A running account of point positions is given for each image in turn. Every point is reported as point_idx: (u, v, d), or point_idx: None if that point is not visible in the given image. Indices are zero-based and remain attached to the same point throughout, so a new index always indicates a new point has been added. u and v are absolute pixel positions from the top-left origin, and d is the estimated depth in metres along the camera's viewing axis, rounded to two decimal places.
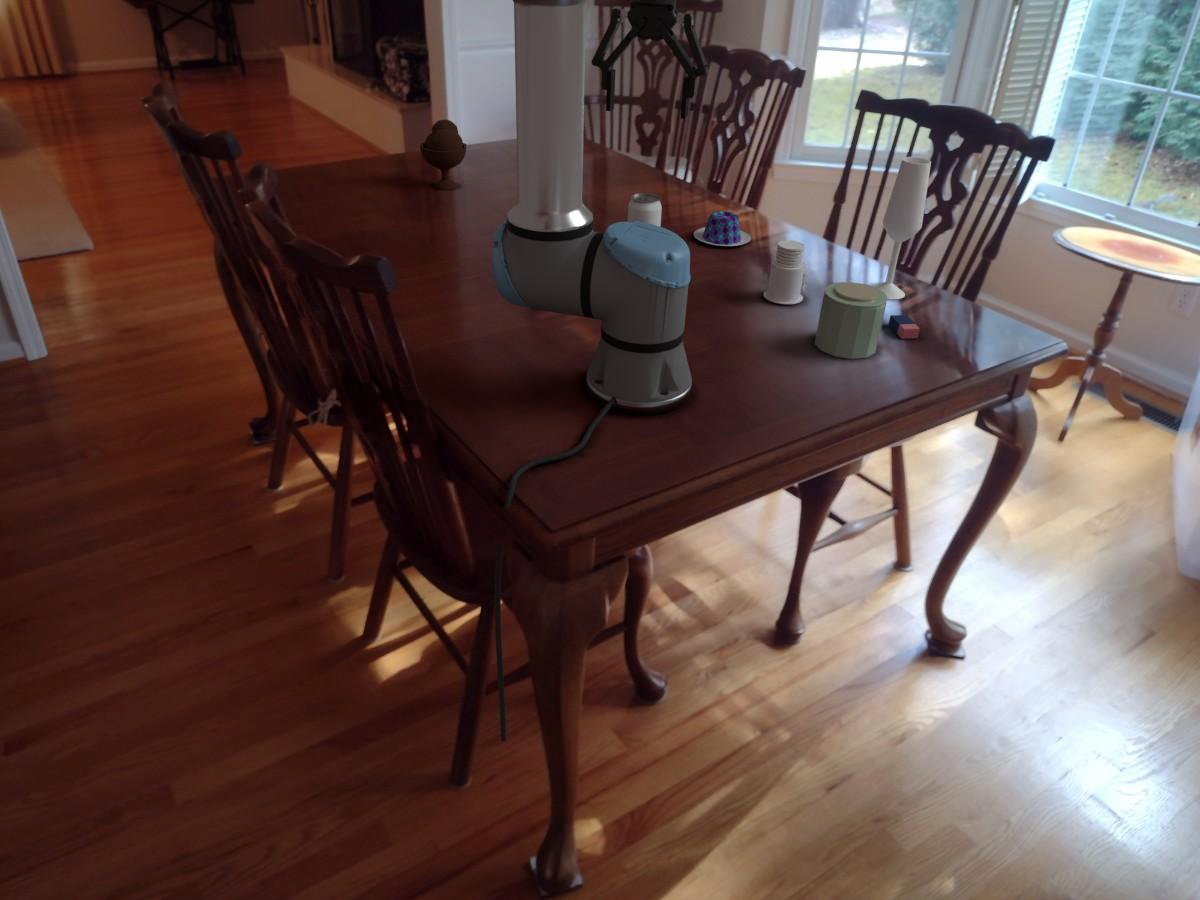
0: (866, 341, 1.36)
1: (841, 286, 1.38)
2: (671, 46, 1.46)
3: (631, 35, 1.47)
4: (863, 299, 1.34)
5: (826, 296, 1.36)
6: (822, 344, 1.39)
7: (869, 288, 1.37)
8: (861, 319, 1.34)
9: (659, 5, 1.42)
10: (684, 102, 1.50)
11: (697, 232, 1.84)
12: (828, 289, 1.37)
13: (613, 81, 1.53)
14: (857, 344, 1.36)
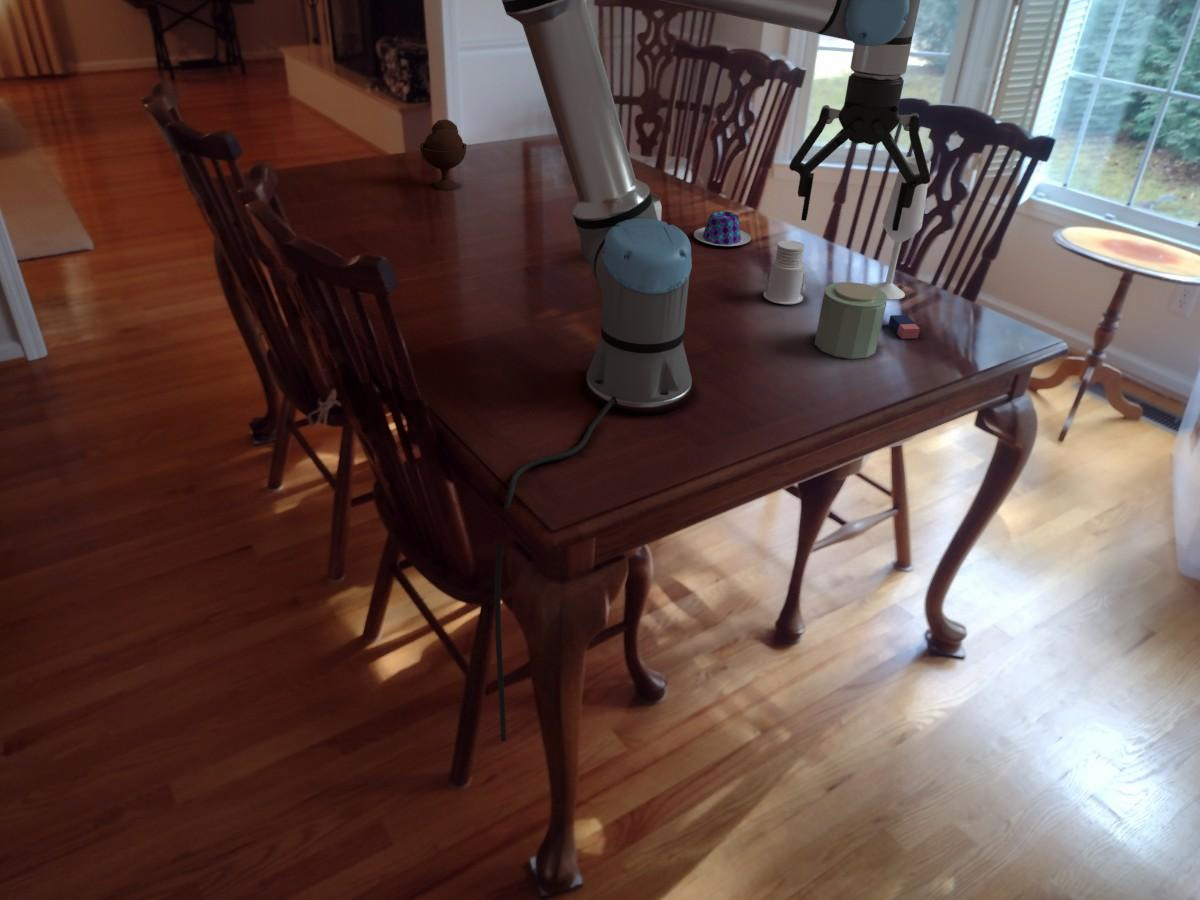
0: (866, 341, 1.36)
1: (841, 286, 1.38)
2: (890, 151, 1.25)
3: (843, 138, 1.26)
4: (863, 299, 1.34)
5: (826, 296, 1.36)
6: (822, 344, 1.39)
7: (869, 288, 1.37)
8: (861, 319, 1.34)
9: (884, 107, 1.21)
10: (899, 213, 1.29)
11: (697, 232, 1.84)
12: (828, 289, 1.37)
13: (811, 187, 1.32)
14: (857, 344, 1.36)
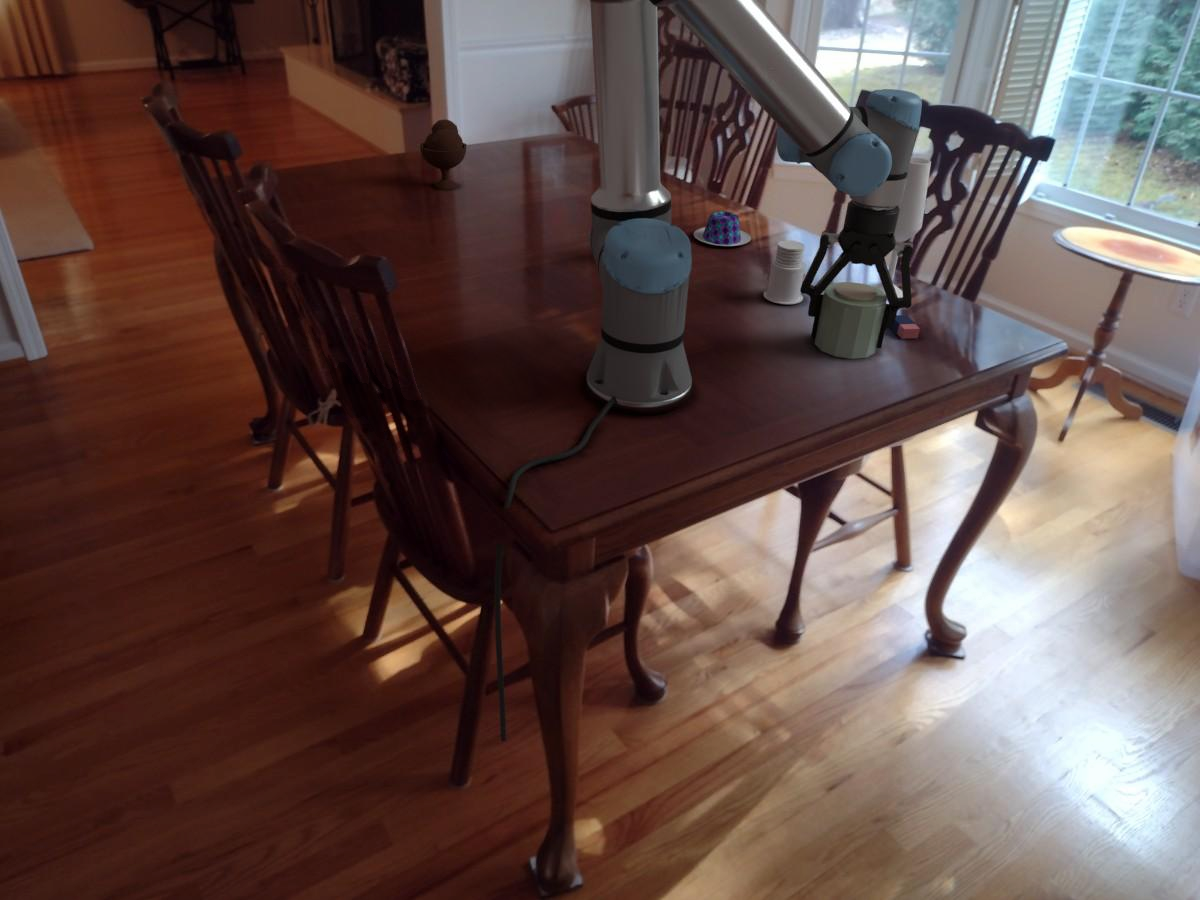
0: (866, 341, 1.36)
1: (841, 286, 1.38)
2: (881, 274, 1.33)
3: (844, 262, 1.33)
4: (863, 299, 1.34)
5: (826, 296, 1.36)
6: (822, 344, 1.39)
7: (869, 288, 1.37)
8: (861, 319, 1.34)
9: (881, 235, 1.28)
10: (882, 332, 1.37)
11: (697, 232, 1.84)
12: (828, 289, 1.37)
13: None
14: (857, 344, 1.36)
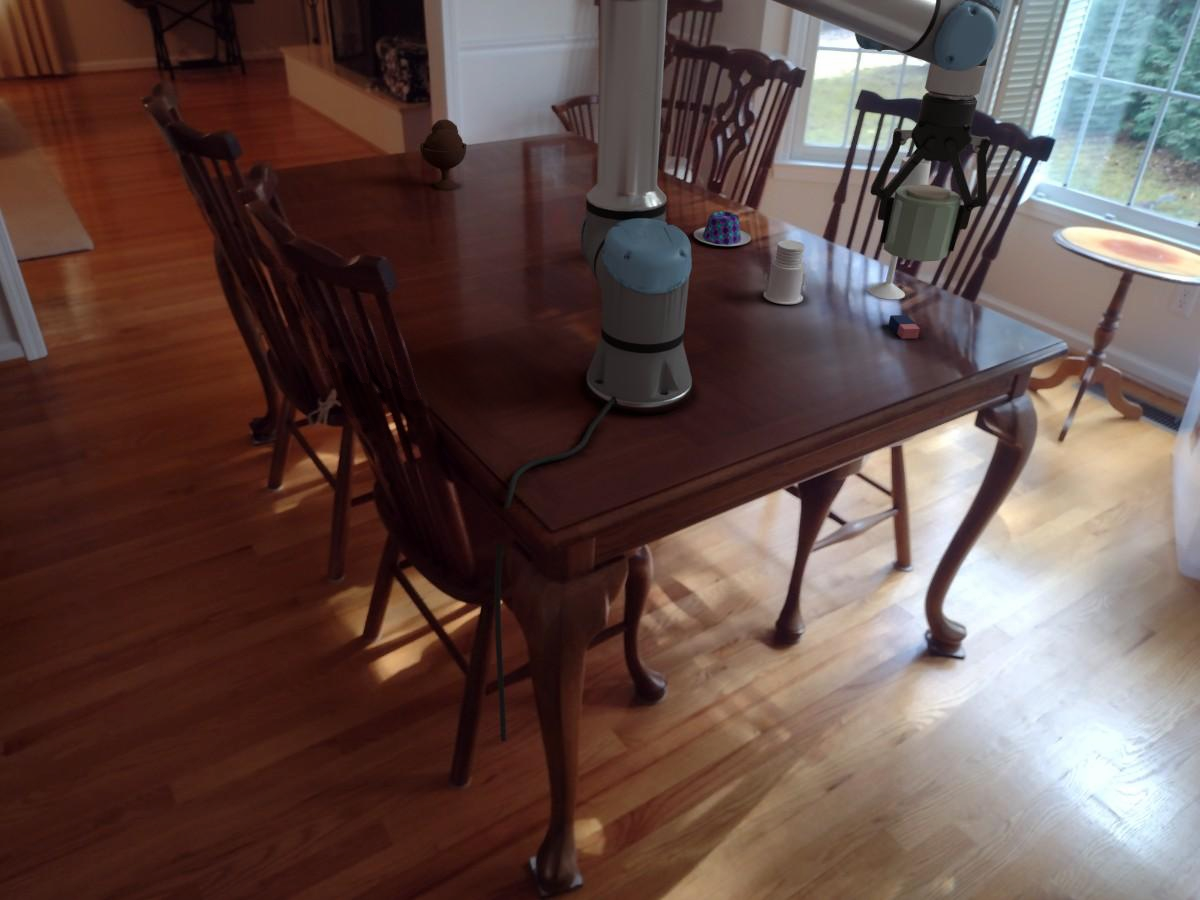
0: (939, 242, 1.33)
1: (912, 187, 1.34)
2: (956, 171, 1.29)
3: (918, 158, 1.29)
4: (937, 197, 1.30)
5: (897, 197, 1.33)
6: (893, 247, 1.35)
7: (941, 188, 1.34)
8: (935, 218, 1.30)
9: (958, 126, 1.24)
10: (955, 234, 1.34)
11: (697, 232, 1.84)
12: (899, 190, 1.34)
13: None
14: (930, 245, 1.32)
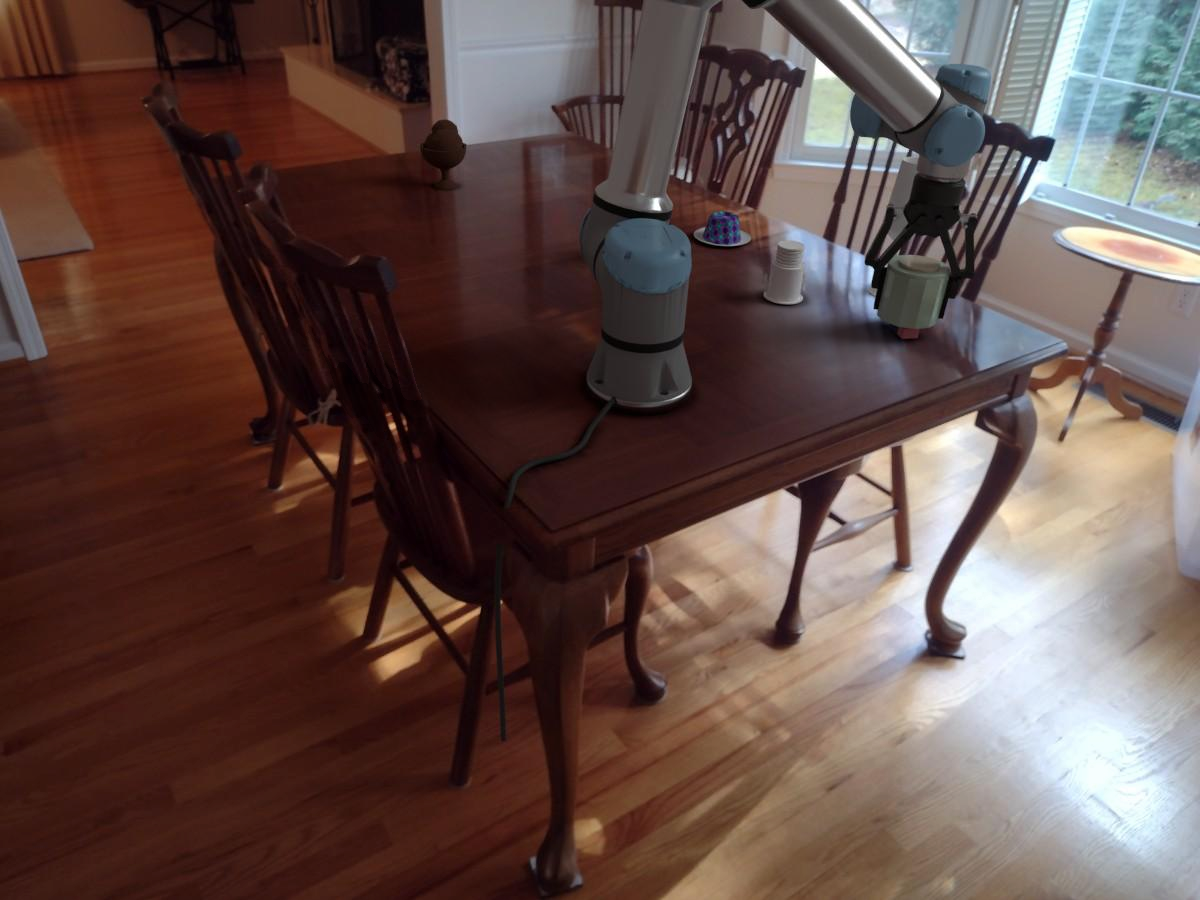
0: (930, 311, 1.40)
1: (904, 258, 1.41)
2: (945, 246, 1.36)
3: (910, 233, 1.37)
4: (928, 270, 1.37)
5: (890, 268, 1.40)
6: (886, 315, 1.43)
7: (932, 260, 1.41)
8: (926, 289, 1.37)
9: (947, 206, 1.32)
10: (945, 303, 1.41)
11: (697, 232, 1.84)
12: (891, 261, 1.41)
13: None
14: (920, 314, 1.40)
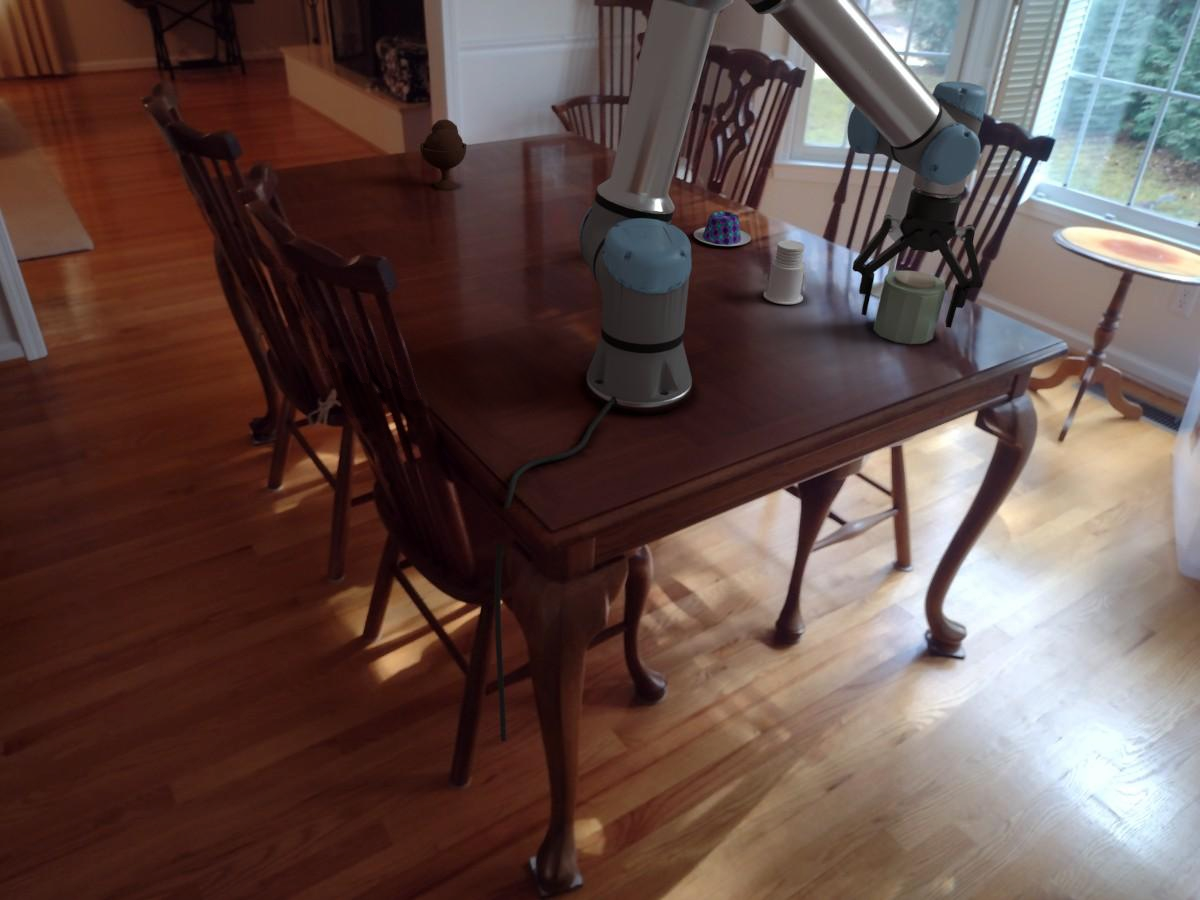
0: (926, 327, 1.41)
1: (901, 274, 1.43)
2: (947, 258, 1.37)
3: (903, 246, 1.38)
4: (924, 286, 1.39)
5: (886, 284, 1.41)
6: (882, 330, 1.44)
7: (928, 276, 1.42)
8: (921, 306, 1.39)
9: (943, 222, 1.33)
10: (953, 312, 1.41)
11: (697, 232, 1.84)
12: (888, 277, 1.43)
13: None
14: (916, 329, 1.41)
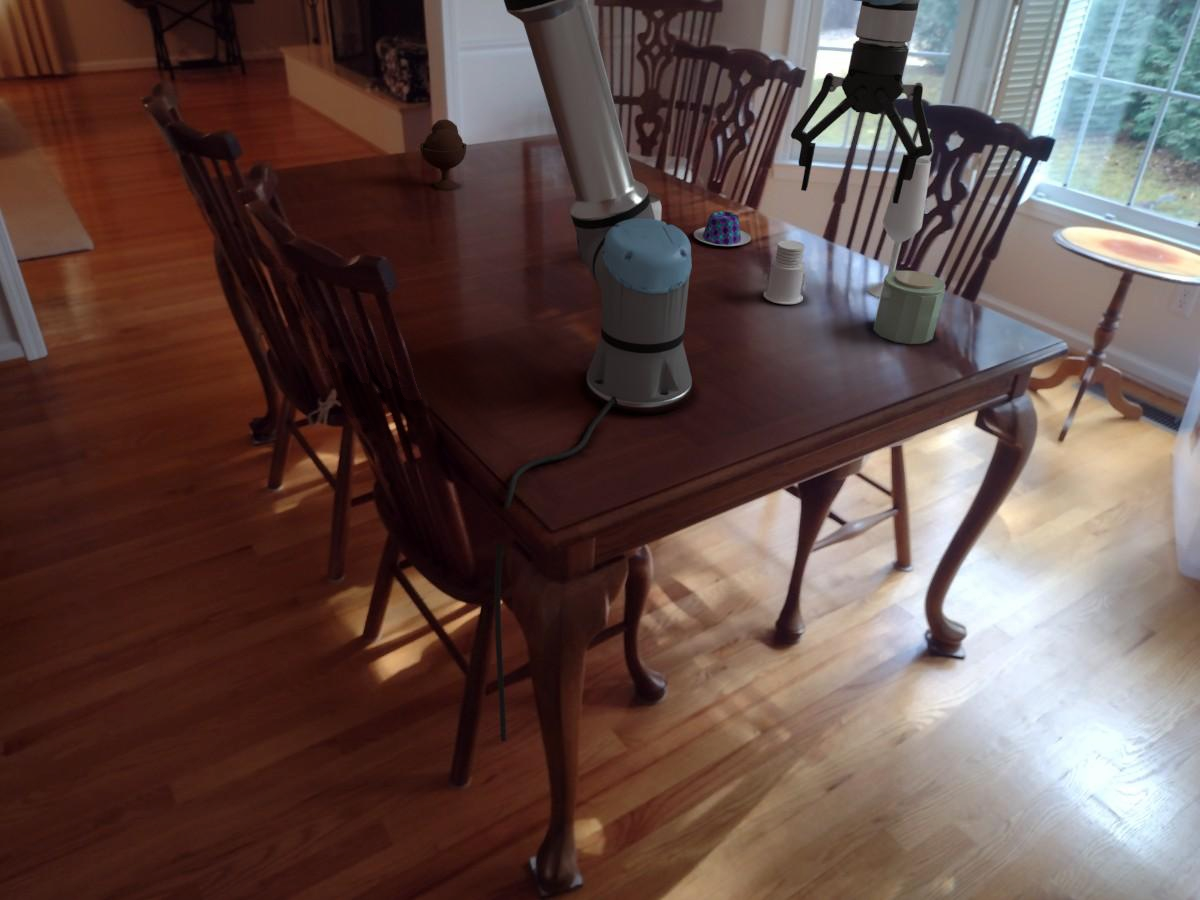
0: (926, 327, 1.41)
1: (901, 274, 1.43)
2: (893, 121, 1.24)
3: (845, 107, 1.24)
4: (924, 286, 1.39)
5: (886, 284, 1.41)
6: (882, 330, 1.44)
7: (928, 276, 1.42)
8: (921, 306, 1.39)
9: (888, 75, 1.20)
10: (900, 185, 1.28)
11: (697, 232, 1.84)
12: (888, 277, 1.43)
13: (812, 157, 1.31)
14: (916, 329, 1.41)
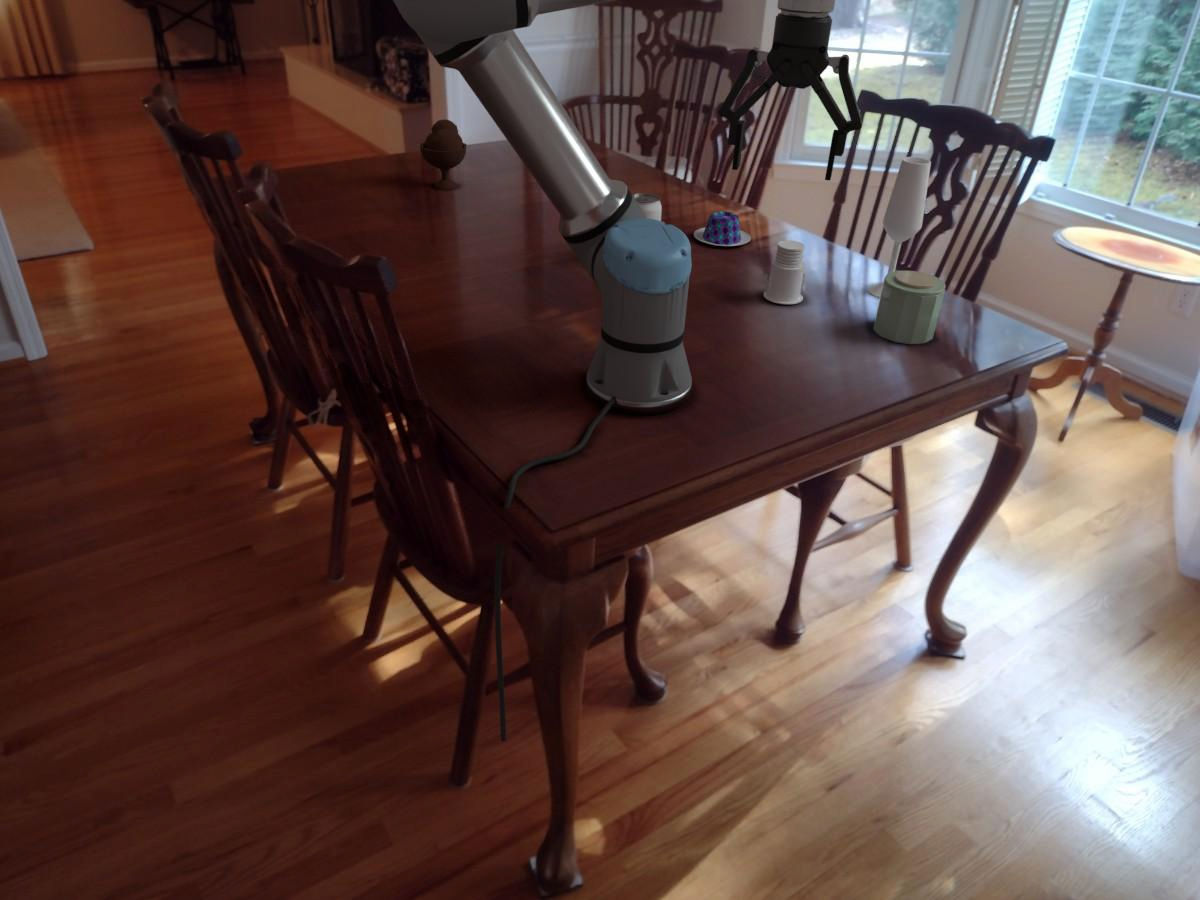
0: (926, 327, 1.41)
1: (901, 274, 1.43)
2: (820, 95, 1.20)
3: (771, 82, 1.21)
4: (924, 286, 1.39)
5: (886, 284, 1.41)
6: (882, 330, 1.44)
7: (928, 276, 1.42)
8: (921, 306, 1.39)
9: (811, 47, 1.16)
10: (831, 161, 1.24)
11: (697, 232, 1.84)
12: (888, 277, 1.43)
13: (742, 135, 1.28)
14: (916, 329, 1.41)
